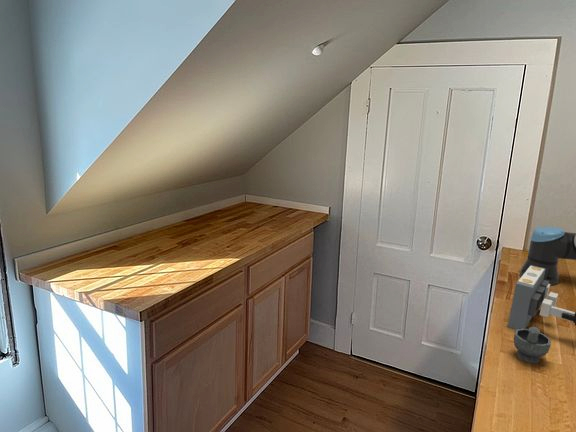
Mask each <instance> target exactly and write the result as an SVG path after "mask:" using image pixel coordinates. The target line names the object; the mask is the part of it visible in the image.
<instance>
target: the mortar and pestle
mask: <svg viewBox="0 0 576 432" xmlns="http://www.w3.org/2000/svg"><path fill="white" fill-rule="evenodd" d="M514 330H515V332H514V333H513V334H514V335H513V345H514V348H515V349H516V350H517V353H516V357H518V358H519V359H520V360H521V361H524V362H526V363H530V364H538V363H539V364H540V362H541V361H540V360H541V357H545V356H546V355H547V354H548V353H549V351H550V348H551V346H552V345H551V343H552V340H551V338H549V337H548V336H547V335H546V334H544V333H542V332H541V331H540V329H539V328H538V327H537V326H530V327H529V328H526V329H518V330H516V329H514Z"/></svg>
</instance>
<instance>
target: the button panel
mask: <svg viewBox="0 0 576 432" xmlns="http://www.w3.org/2000/svg"><path fill="white" fill-rule="evenodd" d="M545 270H546V269H545V268H541V267H536V266H532V265H530V267H529V268H528V269H527V270H526V272H525V273H524V274H523V275H522V277H521V276H520V278H519V279H518V280H517V282H516V283H515V287H514V292H513V296H512V297H513V298H512V303H511V308H510V313H509V317H508V322H507V328H509V329H513V330H518V329H527V327H528V325H529V324H530V322H531V320H532V318H533V317H536V315H537V313H538V310H539V309H541V306H542V302H543V300H544V296H545V291H546V287H547V285H548V284H549V281H547V280H543V279H544V275H545Z"/></svg>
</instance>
